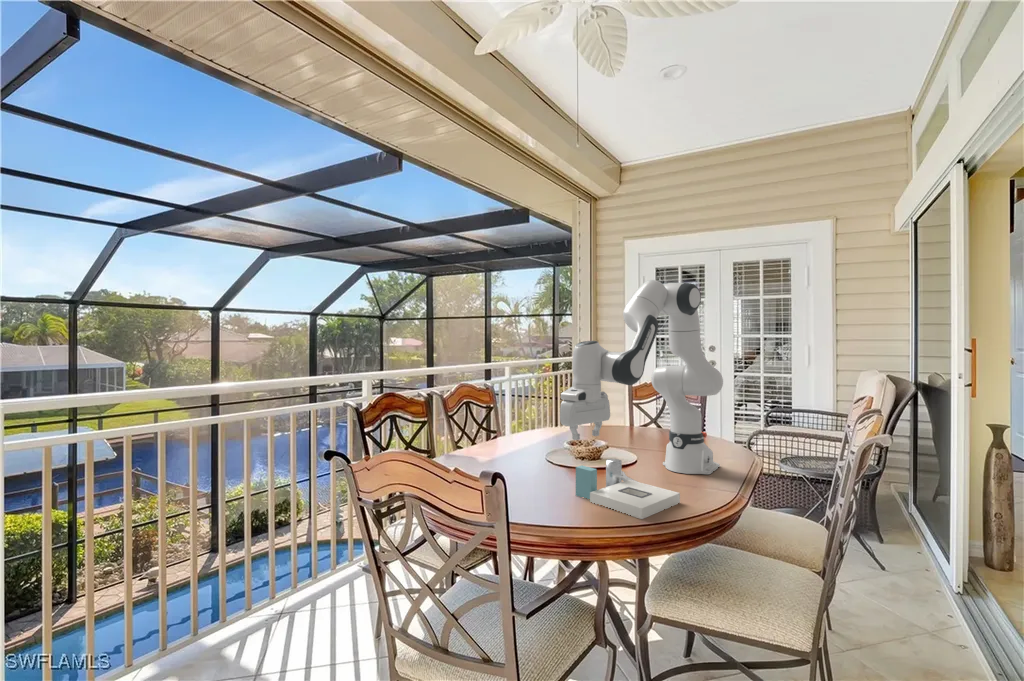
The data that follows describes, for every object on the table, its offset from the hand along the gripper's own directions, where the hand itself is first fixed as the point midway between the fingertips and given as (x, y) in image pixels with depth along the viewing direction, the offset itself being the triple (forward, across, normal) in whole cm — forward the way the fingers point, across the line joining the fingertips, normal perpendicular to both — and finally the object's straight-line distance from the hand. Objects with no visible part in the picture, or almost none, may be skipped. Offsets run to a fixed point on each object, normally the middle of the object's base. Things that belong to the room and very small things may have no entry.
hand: (586, 437), depth 149 cm
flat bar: (+18, 0, 0) cm, 19 cm away
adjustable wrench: (+19, -22, 0) cm, 29 cm away
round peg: (+18, -14, 0) cm, 23 cm away
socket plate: (+18, -7, +13) cm, 24 cm away
